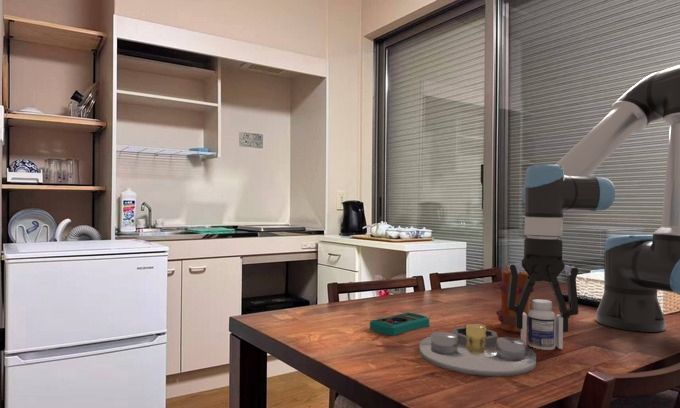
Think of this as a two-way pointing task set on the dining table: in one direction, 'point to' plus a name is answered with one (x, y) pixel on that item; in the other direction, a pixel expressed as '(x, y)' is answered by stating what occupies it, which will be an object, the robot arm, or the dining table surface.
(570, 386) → the dining table surface
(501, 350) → the carrier
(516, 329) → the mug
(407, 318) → the digital multimeter
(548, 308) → the pill bottle
